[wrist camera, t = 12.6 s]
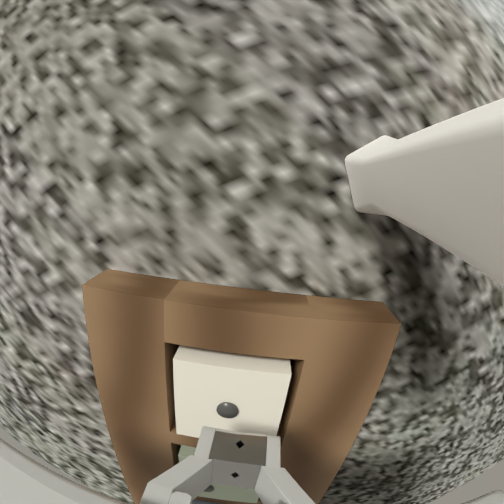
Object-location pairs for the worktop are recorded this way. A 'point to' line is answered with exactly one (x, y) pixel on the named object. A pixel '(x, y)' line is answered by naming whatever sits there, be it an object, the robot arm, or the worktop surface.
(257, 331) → the dice board
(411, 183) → the white faceted bottle
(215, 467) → the robot arm
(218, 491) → the tile
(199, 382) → the tile
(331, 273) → the worktop surface
